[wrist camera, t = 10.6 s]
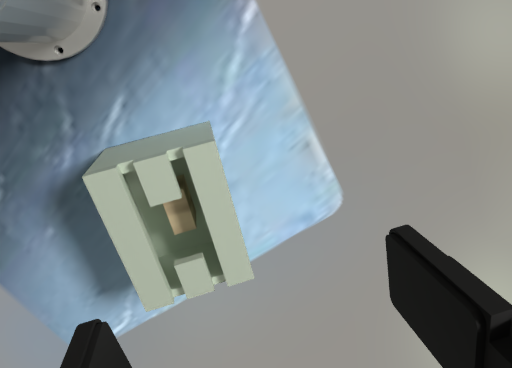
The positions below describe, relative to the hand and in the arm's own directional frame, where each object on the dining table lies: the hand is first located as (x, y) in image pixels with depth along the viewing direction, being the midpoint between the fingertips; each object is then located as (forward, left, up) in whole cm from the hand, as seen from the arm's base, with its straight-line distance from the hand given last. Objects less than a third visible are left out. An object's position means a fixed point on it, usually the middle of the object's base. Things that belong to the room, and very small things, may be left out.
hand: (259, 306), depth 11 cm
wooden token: (+10, -6, -27) cm, 30 cm away
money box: (+8, -6, -30) cm, 32 cm away
